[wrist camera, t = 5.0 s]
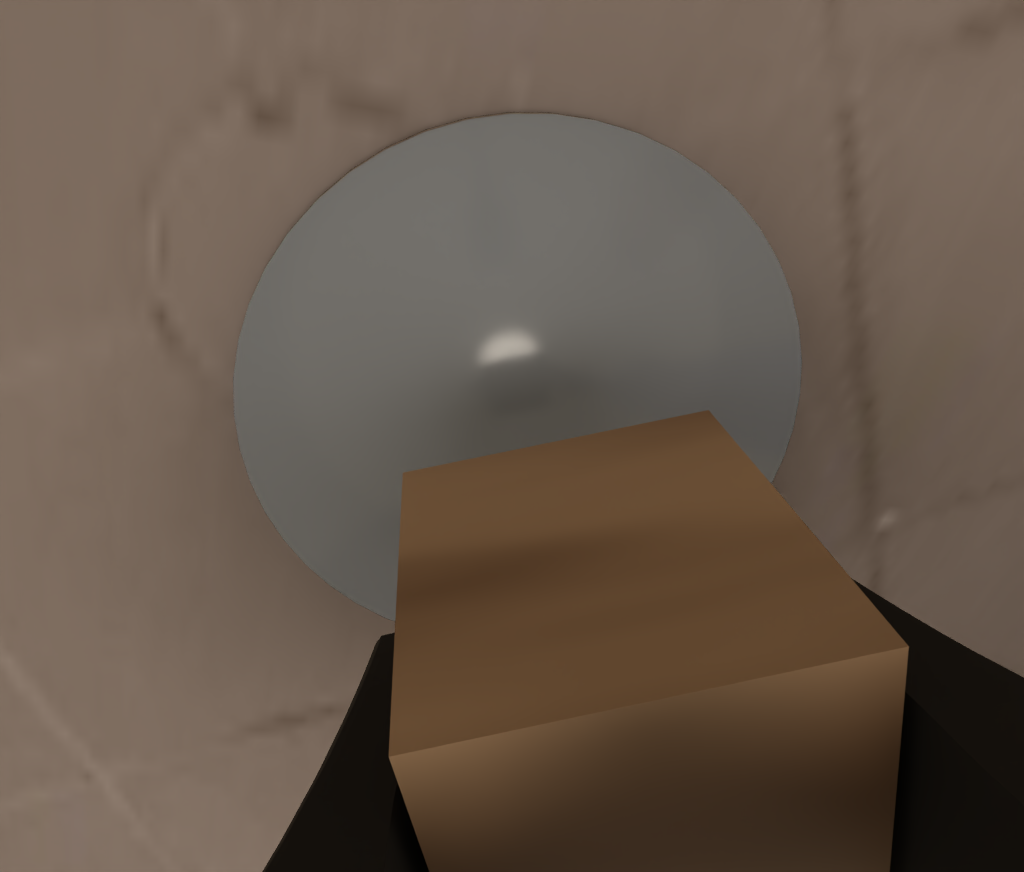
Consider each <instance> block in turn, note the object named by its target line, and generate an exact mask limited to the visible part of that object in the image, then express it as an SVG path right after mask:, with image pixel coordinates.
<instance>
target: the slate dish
mask: <svg viewBox="0 0 1024 872" xmlns="http://www.w3.org/2000/svg"><path fill="white" fill-rule="evenodd" d="M801 366H802V357H801V345H800V333H799V325H798V320H797V316H796V312H795V307H794V303H793V299H792V294H791V291H790V289H789V286H788V284H787V281H786V278H785V276H784V273H783V271H782V268H781V266H780V263H779V261H778V259H777V257H776V255H775V253H774V252H773V250H772V248H771V246H770V245H769V243H768V241H767V240H766V238H765V236H764V234H763V233H762V231H761V229H760V228H759V226H758V225H757V224H756V223H755V221H754V220H753V219H752V218H751V216H750V215H749V214H748V213H747V211H746V210H745V209H744V208H743V206H742V205H741V204H740V203H739V201H738V200H737V199H736V198H735V197H734V196H733V195H732V194H731V193H730V192H728V191H727V190H726V189H725V188H724V187H723V186H722V185H721V184H720V183H719V182H718V181H716V180H715V179H714V178H713V177H712V176H711V175H710V174H709V173H708V172H706V171H705V170H703V169H702V168H700V167H699V166H697V165H696V164H694V163H693V162H691V161H690V160H688V159H687V158H685V157H684V156H682V155H681V154H679V153H678V152H676V151H675V150H673V149H671V148H669V147H666V146H664V145H662V144H660V143H658V142H656V141H654V140H652V139H650V138H647V137H645V136H643V135H641V134H639V133H636V132H633V131H630V130H626V129H623V128H620V127H616V126H613V125H610V124H606V123H603V122H600V121H596V120H593V119H589V118H582V117H576V116H569V115H562V114H556V113H539V112H506V113H499V114H492V115H485V116H478V117H470V118H465V119H461V120H458V121H454V122H451V123H447V124H444V125H440V126H437V127H433V128H430V129H426V130H424V131H421V132H419V133H417V134H415V135H413V136H410V137H408V138H406V139H404V140H401V141H399V142H397V143H395V144H392V145H390V146H388V147H386V148H384V149H383V150H381V151H380V152H378V153H377V154H375V155H373V156H372V157H370V158H369V159H367V160H365V161H364V162H362V163H361V164H359V165H358V166H356V167H354V168H353V169H351V170H350V171H349V172H348V173H347V174H345V175H344V176H343V177H342V178H341V179H340V180H338V181H337V182H336V183H335V184H334V185H333V186H331V187H330V188H329V189H328V190H327V191H326V192H324V193H323V194H322V195H321V196H320V197H319V198H318V199H317V200H316V201H315V203H314V204H313V205H312V206H311V207H310V208H309V209H308V210H307V212H306V213H305V214H304V215H303V216H302V217H301V218H300V220H299V221H298V222H297V223H296V224H295V225H294V226H293V228H292V229H291V230H290V231H289V233H288V234H287V235H286V237H285V238H284V240H283V242H282V243H281V245H280V246H279V248H278V249H277V251H276V252H275V254H274V255H273V257H272V259H271V260H270V262H269V263H268V265H267V266H266V268H265V270H264V272H263V274H262V276H261V279H260V281H259V283H258V285H257V287H256V290H255V292H254V294H253V296H252V298H251V300H250V303H249V305H248V309H247V312H246V316H245V319H244V323H243V326H242V330H241V333H240V337H239V340H238V346H237V354H236V362H235V369H234V377H233V388H234V417H235V423H236V429H237V435H238V441H239V447H240V451H241V454H242V457H243V461H244V464H245V467H246V470H247V473H248V476H249V479H250V482H251V484H252V486H253V488H254V490H255V492H256V494H257V497H258V499H259V501H260V503H261V505H262V507H263V509H264V511H265V513H266V514H267V516H268V517H269V519H270V520H271V522H272V523H273V525H274V526H275V528H276V529H277V531H278V532H279V534H280V535H281V537H282V538H283V539H284V541H285V542H286V543H287V544H288V545H289V546H290V547H291V549H292V550H293V551H294V552H295V553H296V554H297V555H298V556H299V558H300V559H301V560H302V561H303V562H304V563H305V564H306V565H307V566H308V567H309V568H310V569H312V570H313V571H314V572H315V573H316V574H317V575H318V576H320V577H321V578H322V579H323V580H324V581H325V582H326V583H328V584H329V585H330V586H332V587H333V588H334V589H336V590H337V591H339V592H340V593H342V594H343V595H345V596H346V597H348V598H349V599H351V600H352V601H354V602H355V603H357V604H359V605H361V606H363V607H365V608H367V609H369V610H371V611H372V612H374V613H376V614H378V615H380V616H382V617H384V618H387V619H389V620H392V621H395V618H396V598H397V578H398V557H399V537H400V517H401V497H402V477H403V473H404V472H408V471H413V470H418V469H423V468H428V467H433V466H438V465H443V464H448V463H452V462H457V461H462V460H467V459H472V458H477V457H482V456H487V455H491V454H496V453H501V452H506V451H511V450H516V449H521V448H526V447H531V446H535V445H540V444H545V443H550V442H555V441H560V440H565V439H570V438H574V437H579V436H584V435H589V434H594V433H599V432H604V431H609V430H614V429H618V428H623V427H628V426H633V425H638V424H643V423H648V422H653V421H657V420H662V419H667V418H672V417H677V416H682V415H687V414H692V413H697V412H701V411H706V410H709V411H710V412H711V413H712V415H713V416H714V417H715V418H716V419H717V421H718V422H719V423H720V424H721V425H722V426H723V428H724V429H725V430H726V431H727V432H728V434H729V435H730V436H731V437H732V438H733V439H734V441H735V442H736V443H737V444H738V445H739V447H740V448H741V449H742V450H743V451H744V452H745V454H746V455H747V456H748V457H749V458H750V460H751V461H752V462H753V463H754V464H755V465H756V467H757V468H758V469H759V470H760V471H761V472H762V474H763V475H764V476H765V477H766V478H767V480H768V481H769V482H770V483H772V481H773V479H774V477H775V475H776V473H777V471H778V469H779V466H780V464H781V462H782V460H783V458H784V455H785V452H786V449H787V446H788V443H789V440H790V437H791V433H792V430H793V427H794V423H795V417H796V412H797V407H798V402H799V396H800V384H801Z"/></svg>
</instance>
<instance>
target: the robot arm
mask: <svg viewBox="0 0 1024 872" xmlns="http://www.w3.org/2000/svg"><path fill="white" fill-rule="evenodd" d="M851 579H852V578H851ZM852 580H853V579H852ZM853 581H854V582H855V583H856V585H857V586H858V587H859V588H860V589H861V591H862V592H863V593H864V594H865V595H866V596H867V598H868V599H869V600H870V601H871V602H872V604H873V605H874V606H875V607H876V608H877V609H878V611H879V612H880V613H881V614H882V615H883V617H884V618H885V619H886V620H887V621H888V622H889V624H890V625H891V626H892V627H893V628H894V630H895V631H896V632H897V633H898V634H899V635H900V637H901V638H902V639H903V640H904V641H905V643H906V644H907V645H908V646H909V650H908V662H907V674H906V685H905V697H904V709H903V721H902V732H901V744H900V756H899V768H898V779H897V791H896V803H895V815H894V826H893V838H892V850H891V862H890V872H1024V678H1023V677H1021V676H1019V675H1018V674H1016V673H1014V672H1012V671H1010V670H1008V669H1006V668H1004V667H1002V666H1001V665H999V664H997V663H995V662H993V661H991V660H989V659H987V658H985V657H984V656H982V655H980V654H978V653H976V652H974V651H972V650H970V649H969V648H967V647H965V646H963V645H962V644H960V643H958V642H956V641H954V640H953V639H951V638H949V637H947V636H946V635H944V634H942V633H940V632H939V631H937V630H935V629H933V628H932V627H930V626H928V625H927V624H925V623H923V622H922V621H920V620H918V619H916V618H915V617H913V616H911V615H910V614H908V613H906V612H905V611H903V610H901V609H900V608H898V607H897V606H895V605H893V604H892V603H890V602H888V601H887V600H885V599H883V598H882V597H880V596H879V595H877V594H875V593H874V592H872V591H871V590H869V589H868V588H866V587H864V586H863V585H861V584H860V583H858V582H856V581H855V580H853ZM394 638H395V633H392V634H387V635H383V636H381V637H380V639H379V640H378V642H377V643H376V645H375V647H374V650H373V652H372V655H371V658H370V660H369V663H368V665H367V667H366V670H365V672H364V675H363V677H362V680H361V682H360V684H359V687H358V689H357V691H356V694H355V696H354V698H353V700H352V703H351V705H350V707H349V709H348V712H347V714H346V716H345V718H344V720H343V723H342V725H341V727H340V729H339V731H338V733H337V735H336V737H335V739H334V741H333V743H332V745H331V747H330V749H329V751H328V753H327V756H326V758H325V760H324V762H323V764H322V766H321V768H320V770H319V772H318V774H317V776H316V778H315V780H314V781H313V783H312V785H311V787H310V789H309V791H308V792H307V794H306V796H305V798H304V800H303V802H302V803H301V805H300V807H299V809H298V811H297V812H296V814H295V816H294V818H293V820H292V822H291V823H290V825H289V827H288V829H287V831H286V833H285V834H284V836H283V838H282V840H281V841H280V843H279V845H278V847H277V848H276V850H275V852H274V853H273V855H272V857H271V858H270V860H269V862H268V863H267V865H266V867H265V868H264V870H263V872H429V870H428V867H427V864H426V861H425V858H424V855H423V853H422V850H421V847H420V844H419V841H418V839H417V836H416V833H415V830H414V827H413V824H412V822H411V819H410V816H409V813H408V810H407V807H406V805H405V802H404V799H403V796H402V793H401V790H400V788H399V785H398V782H397V779H396V776H395V774H394V771H393V768H392V765H391V762H390V759H389V739H390V719H391V699H392V678H393V658H394Z"/></svg>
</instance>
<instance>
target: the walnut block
mask: <svg viewBox="0 0 1024 872" xmlns="http://www.w3.org/2000/svg"><path fill="white" fill-rule="evenodd" d="M908 650H909V646H908V645H907V644H906V643H905V641H904V640H903V639H902V638H901V637H900V635H899V634H898V633H897V632H896V631H895V630H894V628H893V627H892V626H891V625H890V624H889V622H888V621H887V620H886V619H885V618H884V617H883V615H882V614H881V613H880V612H879V611H878V609H877V608H876V607H875V606H874V605H873V604H872V602H871V601H870V600H869V599H868V598H867V596H866V595H865V594H864V593H863V592H862V591H861V589H860V588H859V587H858V586H857V585H856V583H855V582H854V581H853V580H852V579H851V578H850V576H849V575H848V574H847V573H846V572H845V570H844V569H843V568H842V567H841V566H840V565H839V563H838V562H837V561H836V560H835V559H834V558H833V556H832V555H831V554H830V553H829V552H828V550H827V549H826V548H825V547H824V546H823V545H822V543H821V542H820V541H819V540H818V539H817V537H816V536H815V535H814V534H813V533H812V532H811V530H810V529H809V528H808V527H807V526H806V524H805V523H804V522H803V521H802V520H801V519H800V517H799V516H798V515H797V514H796V513H795V511H794V510H793V509H792V508H791V507H790V506H789V504H788V503H787V502H786V501H785V500H784V498H783V497H782V496H781V495H780V494H779V493H778V491H777V490H776V489H775V488H774V487H773V485H772V484H771V483H770V482H769V481H768V480H767V478H766V477H765V476H764V475H763V474H762V472H761V471H760V470H759V469H758V468H757V467H756V465H755V464H754V463H753V462H752V461H751V460H750V458H749V457H748V456H747V455H746V454H745V452H744V451H743V450H742V449H741V448H740V447H739V445H738V444H737V443H736V442H735V441H734V439H733V438H732V437H731V436H730V435H729V434H728V432H727V431H726V430H725V429H724V428H723V426H722V425H721V424H720V423H719V422H718V421H717V419H716V418H715V417H714V416H713V415H712V413H711V412H710V411H709V410H706V411H701V412H697V413H692V414H687V415H682V416H677V417H672V418H667V419H662V420H657V421H653V422H648V423H643V424H638V425H633V426H628V427H623V428H618V429H614V430H609V431H604V432H599V433H594V434H589V435H584V436H579V437H574V438H570V439H565V440H560V441H555V442H550V443H545V444H540V445H535V446H531V447H526V448H521V449H516V450H511V451H506V452H501V453H496V454H491V455H487V456H482V457H477V458H472V459H467V460H462V461H457V462H452V463H448V464H443V465H438V466H433V467H428V468H423V469H418V470H413V471H408V472H404V473H403V477H402V497H401V517H400V537H399V557H398V578H397V598H396V618H395V638H394V658H393V678H392V699H391V719H390V739H389V759H390V762H391V765H392V768H393V771H394V774H395V776H396V779H397V782H398V785H399V788H400V790H401V793H402V796H403V799H404V802H405V805H406V807H407V810H408V813H409V816H410V819H411V822H412V824H413V827H414V830H415V833H416V836H417V839H418V841H419V844H420V847H421V850H422V853H423V855H424V858H425V861H426V864H427V867H428V870H429V872H890V862H891V850H892V838H893V826H894V815H895V803H896V791H897V779H898V768H899V756H900V744H901V732H902V721H903V709H904V697H905V685H906V674H907V662H908Z"/></svg>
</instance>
